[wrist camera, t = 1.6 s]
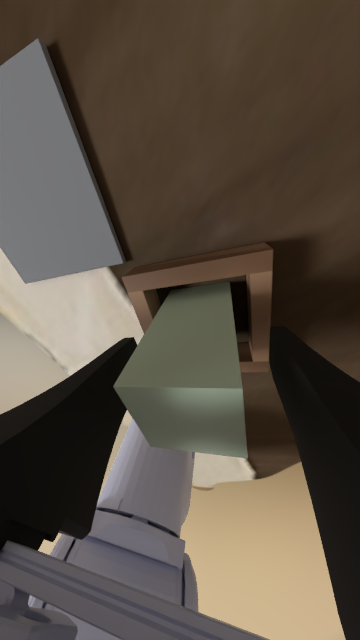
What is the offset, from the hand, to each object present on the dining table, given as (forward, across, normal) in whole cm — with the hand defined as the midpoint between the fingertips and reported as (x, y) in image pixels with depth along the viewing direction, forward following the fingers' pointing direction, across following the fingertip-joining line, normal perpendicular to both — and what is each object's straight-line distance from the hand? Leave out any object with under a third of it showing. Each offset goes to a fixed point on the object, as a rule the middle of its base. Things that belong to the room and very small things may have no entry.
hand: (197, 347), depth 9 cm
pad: (+4, +9, -9) cm, 13 cm away
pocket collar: (+4, 0, 0) cm, 4 cm away
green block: (+4, 0, 0) cm, 4 cm away
